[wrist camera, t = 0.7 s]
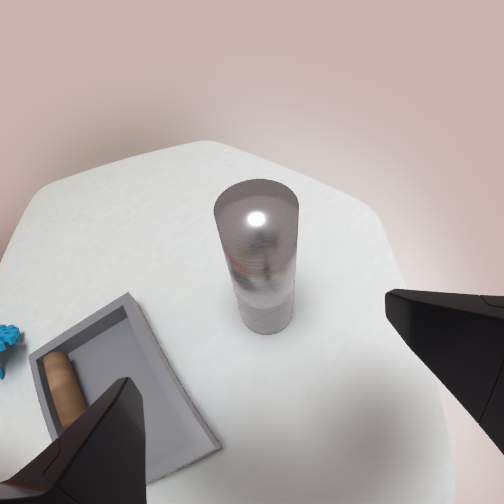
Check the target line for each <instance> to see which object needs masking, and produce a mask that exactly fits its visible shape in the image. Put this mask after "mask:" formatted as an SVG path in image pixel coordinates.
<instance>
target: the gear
mask: <svg viewBox="0 0 504 504" xmlns="http://www.w3.org/2000/svg"><path fill="white" fill-rule="evenodd" d="M19 336H20V332H19V329H18V328H15V327H14V325H10V326H8V327H6V325H0V352H1V351H4V350H6V347H5V344H4V343H5V342H8V344H9V345H12V344H14V343H16V342H17V338H18V337H19ZM2 377H4V375H3V372H2V370H1V367H0V378H2Z"/></svg>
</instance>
